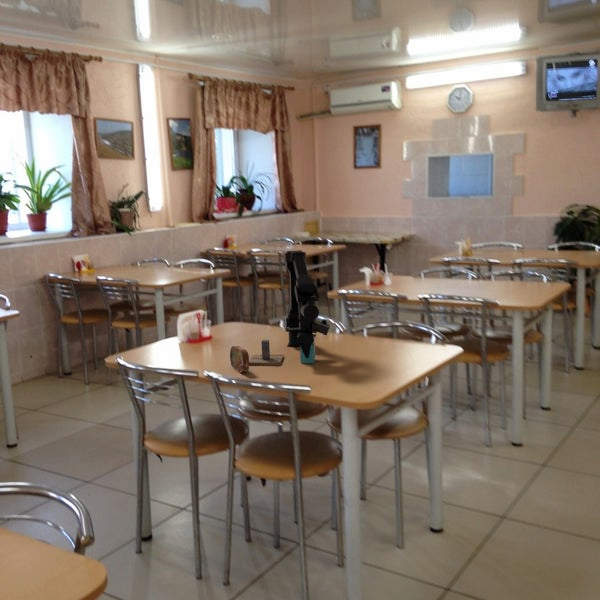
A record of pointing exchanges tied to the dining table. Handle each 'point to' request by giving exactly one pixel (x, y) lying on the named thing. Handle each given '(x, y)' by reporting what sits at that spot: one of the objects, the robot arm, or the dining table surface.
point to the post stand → (266, 356)
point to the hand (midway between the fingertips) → (307, 356)
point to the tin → (239, 359)
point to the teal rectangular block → (311, 355)
